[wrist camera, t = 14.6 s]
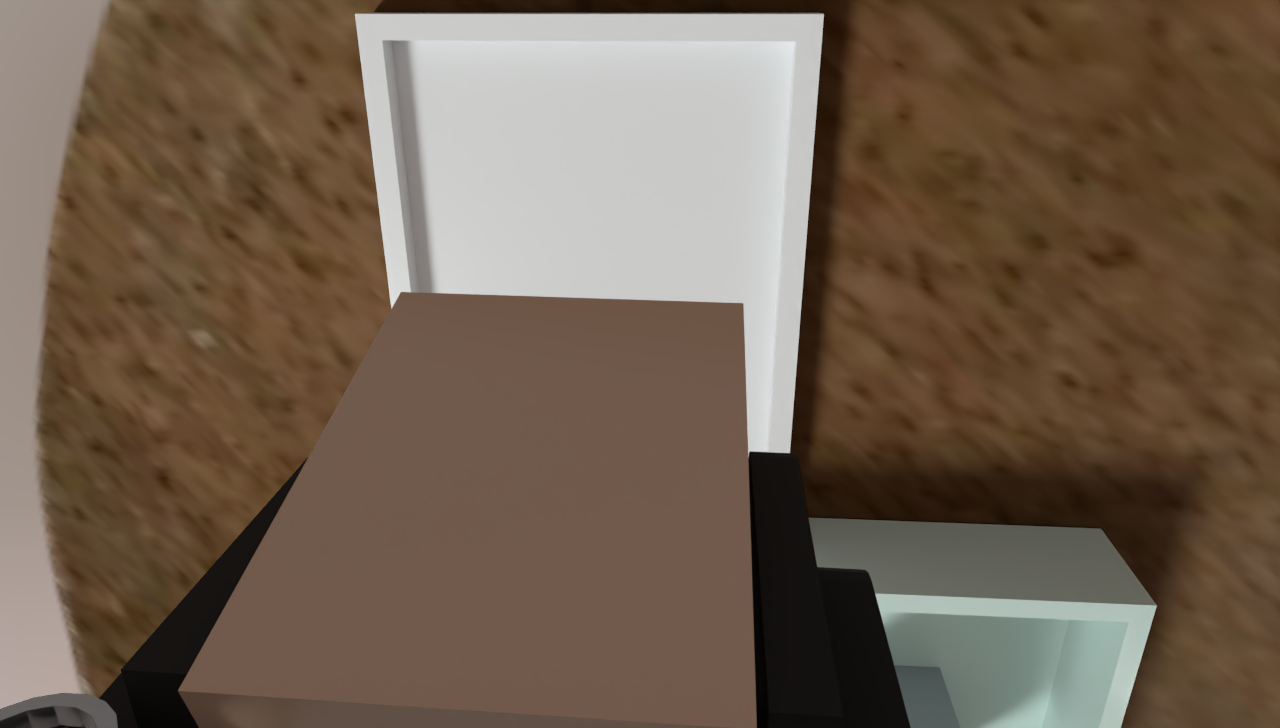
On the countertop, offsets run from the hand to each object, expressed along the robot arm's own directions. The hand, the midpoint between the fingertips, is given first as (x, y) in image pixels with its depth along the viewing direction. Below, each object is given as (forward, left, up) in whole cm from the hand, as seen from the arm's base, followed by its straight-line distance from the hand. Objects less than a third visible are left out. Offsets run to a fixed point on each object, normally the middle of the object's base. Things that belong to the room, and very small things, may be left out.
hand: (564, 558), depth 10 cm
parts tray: (+1, +1, -15) cm, 15 cm away
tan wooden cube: (0, -1, -1) cm, 2 cm away
